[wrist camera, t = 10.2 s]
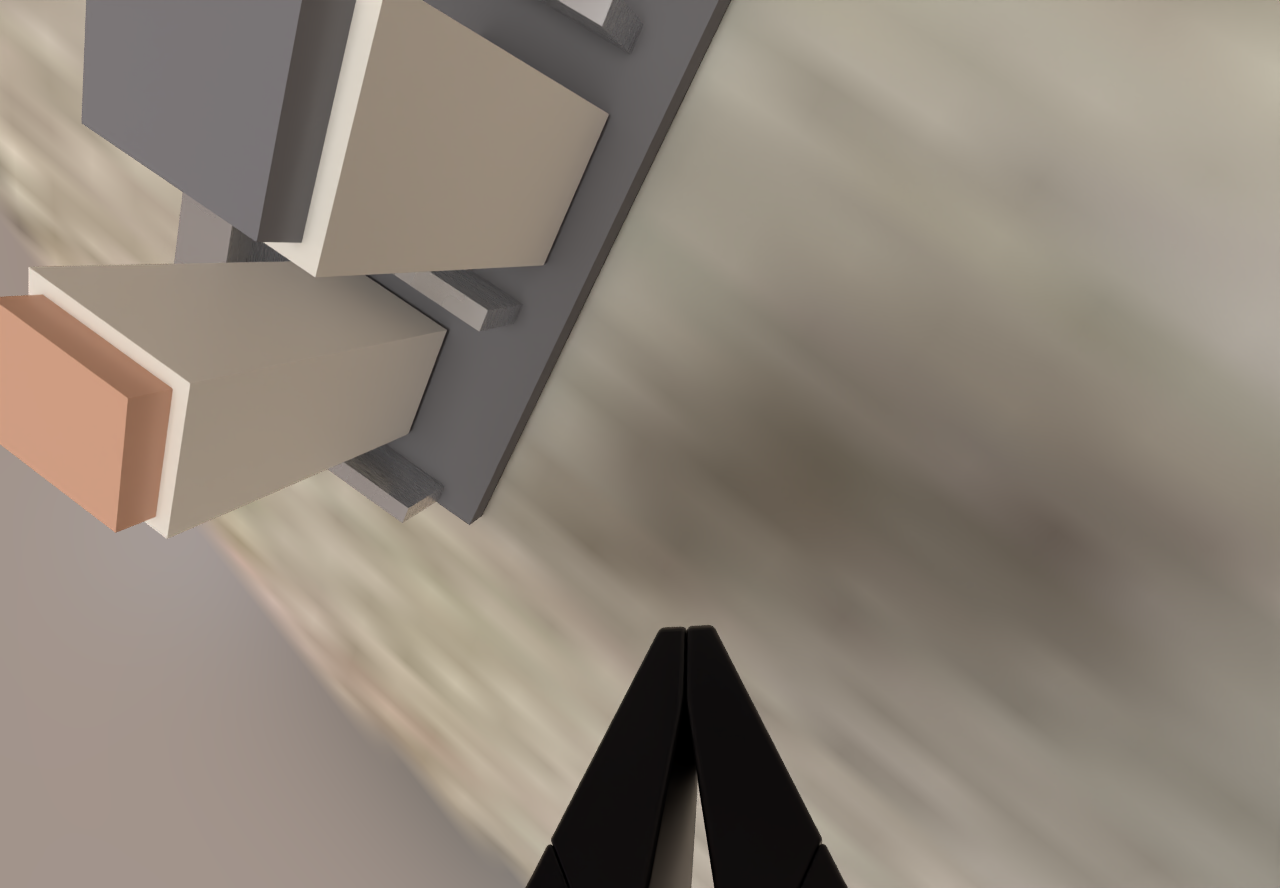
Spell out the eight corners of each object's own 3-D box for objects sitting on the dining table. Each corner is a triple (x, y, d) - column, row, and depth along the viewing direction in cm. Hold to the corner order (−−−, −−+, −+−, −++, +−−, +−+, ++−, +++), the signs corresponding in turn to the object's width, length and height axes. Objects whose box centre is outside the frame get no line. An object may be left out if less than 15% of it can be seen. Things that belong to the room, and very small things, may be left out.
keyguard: (836, -425, 11) (837, -594, 9) (437, 502, 21) (393, 531, 19) (404, -631, 12) (306, -831, 10) (227, 353, 22) (162, 364, 20)
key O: (447, 329, 18) (145, 392, 10) (408, 434, 20) (127, 555, 12) (343, 260, 19) (-26, 267, 11) (314, 368, 21) (-17, 444, 13)
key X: (609, 113, 15) (340, -50, 7) (543, 265, 17) (271, 280, 9) (476, 33, 15) (70, -214, 7) (426, 189, 17) (62, 135, 9)
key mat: (900, -352, 11) (905, -393, 11) (481, 515, 22) (469, 525, 21) (428, -580, 12) (404, -631, 12) (246, 350, 23) (227, 353, 22)
